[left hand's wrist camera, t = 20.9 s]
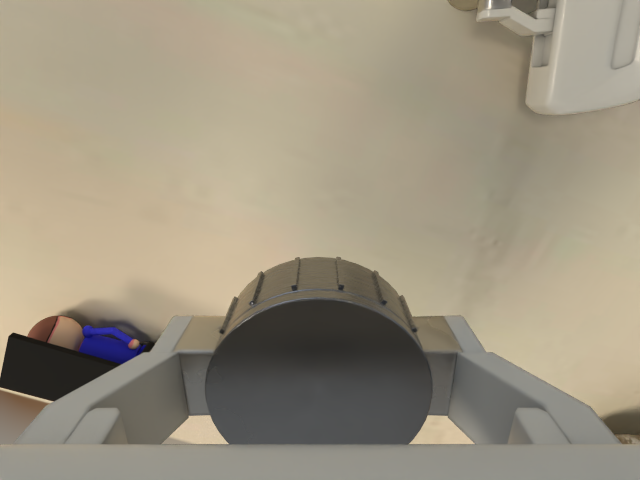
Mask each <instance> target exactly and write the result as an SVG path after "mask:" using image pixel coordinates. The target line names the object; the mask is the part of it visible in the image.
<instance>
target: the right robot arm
mask: <svg viewBox="0 0 640 480" xmlns="http://www.w3.org/2000/svg"><path fill="white" fill-rule="evenodd" d="M511 3H512V0H478V6H477V14H476V22H486V21H499V23H500V24H502V25H504V26H505V27H507V28H508V29H510V30H511V31H513V32H514V33H516V34H517V35H519V36H532V35H533V43H532V51H531V59H530V68H529V76H528V84H527V92H526V105H527V106H528V107H529V108H530V109H532V110H533V111H534V112H535V113H537V114H543V115H569V114H578V113H586V112H592V111H598V110H604V109H609V108H613V107H618V106H622V105H626V104H630V103H632V102H635V101H638V100H640V0H538V3H537V10H536V11H533V12H531V13H528V14H526V13H524V12H522V11H521V10H519V9H517V8H516V7H514V6H511Z"/></svg>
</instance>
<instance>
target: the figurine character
mask: <svg viewBox="0 0 640 480" xmlns="http://www.w3.org/2000/svg"><path fill="white" fill-rule="evenodd" d="M105 334H112V335H114V336H115V337H117V338H119V339H120V340H117V339H113V338H109V337H105V336H101V335H105ZM84 337H85V338H84ZM83 339H84V340H83ZM121 340H122V341H121ZM139 344H140V345H139ZM141 345H142V347H141ZM154 345H155V343H153V342H150V341H149V342H145V341H143V342H139V341H138V340H136V339H133V338H131V337H129V336H128V335H126V334H125V333H123V332H122V331H120V330H118V329H117V328H115V327H107V328H93V327H92V326H89V325H87V326H85V327H84V328H83V330H82V328H81V326H80V325H79V324H78V322H76V321H75V320H74V319H72V318H70V317H66V316H52V317H48V318H45V319H43V320H41V321H40V322H38V323H37V324H36V325H35V326H34V327H33V328H32V329H31V330H30V332H29V334H28V336H27V337H26V336H23V335H20V334H16V333H12V334H11V335H10V336H9V337H8V342H7V347H6V352H5V357H4V362H3V367H2V372H1V377H0V387H1V388H5V389H9V390H12V391H16V392H20V393H24V394H28V395H31V396H35V397H39V398H43V399H47V400H50V401H56V400H58V399H60V398H61V397H63V396H65V395H67V394H69V393H71V392H72V391H74V390H76V389H78V388H80V387H81V386H83V385H85V384H87V383H89V382H91V381H92V380H94V379H96V378H98V377H100V376H102V375H103V374H105V373H107V372H109V371H111V370H113V369H114V368H116V367H118V366H120V365H122V364H123V363H125V362H127V361H129V360H131V359H133V358H134V357H136V356H138V355H140V354H142V353H144V352H150V351H151V350H152V348H153V347H154Z"/></svg>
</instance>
